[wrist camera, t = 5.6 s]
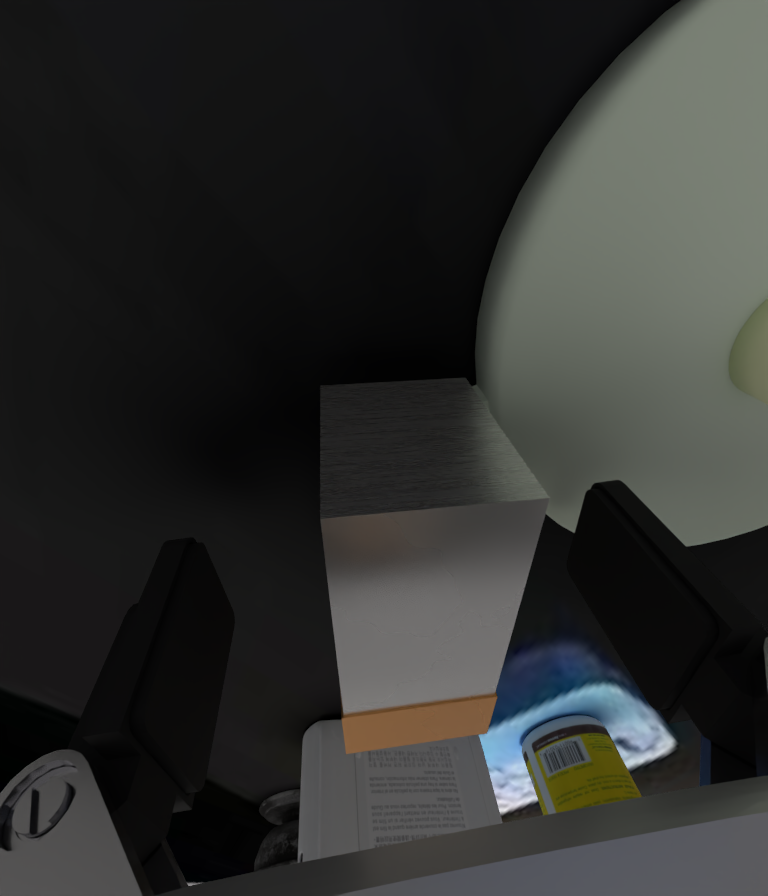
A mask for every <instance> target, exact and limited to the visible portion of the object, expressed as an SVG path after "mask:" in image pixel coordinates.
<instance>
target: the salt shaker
mask: <svg viewBox="0 0 768 896" xmlns="http://www.w3.org/2000/svg"><path fill="white" fill-rule="evenodd" d="M300 792H301V789H294V790H289V791H285V792H281V793H278V794H276V795H273V796H271V797H269V798H267V799H266V800H264V801H263V802H262V803H261V805H260V808H259V811H260V814H261V815H262V816H263V817H264V818H266V819H267V820H268V821H269V822H270V823H273V824H277V825H279V826H277V827H275V828H273V829H272V830H271V831H270V832H269V834H268V835H267V836H266V838H265V839H264V840H263V842H262V844H261V846H260V849H259V852H258V854H257V857H256V860H255V865H254V872H257V871H261V870H266V869H271V868H275V867H280V866H285V865H290V864H295V863H298V839H299V814H300Z"/></svg>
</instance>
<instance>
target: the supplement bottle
mask: <svg viewBox="0 0 768 896" xmlns="http://www.w3.org/2000/svg"><path fill="white" fill-rule="evenodd" d="M522 754H523V757H524V760H525V763H526V766H527V769H528V772H529V775H530V778H531V780H532V783H533V786H534V789H535V792H536V795H537V797H538V800H539V803H540V806H541V809H542V812H543V815H548V814H553V813H559V812H564V811H569V810H574V809H580V808H585V807H591V806H596V805H601V804H607V803H612V802H617V801H623V800H628V799H634V798H639V797H642V796H641V794H640V792H639V791H638V789H637V787H636V785H635V783H634V781H633V779H632V777H631V775H630V773H629V771H628V769H627V768H626V766H625V764H624V762H623V760H622V758H621V756H620V754H619V752H618V750H617V748H616V746H615V744H614V742H613V741H612V739H611V737H610V735H609V733H608V732H607V730H606V728H605V726H604V725H603V724H602V723H601V722H600V721H598V720H597V719H595V718H593V717H589V716H583V715H574V716H567V717H562V718H558V719H555V720H552V721H549V722H547V723H545V724H542V725H541V726H539V727H537V728H536V729H534V730H533V731H532V732H531V733H529V734H528V736H527V737H526V738H525V740H524V742H523V744H522Z"/></svg>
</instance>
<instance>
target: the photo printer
mask: <svg viewBox="0 0 768 896" xmlns="http://www.w3.org/2000/svg"><path fill="white" fill-rule="evenodd" d="M501 823H502V820H501V816H500V812H499V809H498V805H497V801H496V798H495V794H494V790H493V786H492V782H491V779H490V775H489V771H488V767H487V764H486V760H485V756H484V752H483V749H482V745H481V742H480V738H479V736H478V735H472V736H465V737H458V738H451V739H445V740H438V741H431V742H425V743H418V744H411V745H404V746H398V747H391V748H384V749H377V750H371V751H364V752H357V753H350V754H346V750H345V742H344V734H343V726H342V720H327V721H326V720H321V721H318V722H316V723H315V724H313V725H312V726H311V727H309V728H308V730H307V731H306V732H305V734H304V737H303V745H302V769H301V792H300V814H299V839H298V863H300V862H306V861H311V860H316V859H321V858H326V857H331V856H336V855H341V854H346V853H351V852H356V851H361V850H367V849H372V848H377V847H382V846H387V845H392V844H397V843H402V842H407V841H412V840H418V839H423V838H428V837H433V836H438V835H444V834H449V833H454V832H459V831H464V830H470V829H475V828H480V827H485V826H490V825H496V824H501Z"/></svg>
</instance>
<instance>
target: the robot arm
mask: <svg viewBox="0 0 768 896" xmlns="http://www.w3.org/2000/svg"><path fill="white" fill-rule="evenodd" d="M567 568H568V572H569V574H570V576H571V578H572V580H573V581H574V583H575V585H576V586H577V588H578V589H579V591H580V593H581V594H582V596H583V598H584V599H585V601H586V602H587V604H588V606H589V607H590V609H591V611H592V612H593V614H594V615H595V617H596V619H597V620H598V622H599V624H600V625H601V627H602V628H603V630H604V632H605V633H606V635H607V637H608V638H609V640H610V641H611V643H612V645H613V646H614V648H615V649H616V651H617V653H618V654H619V656H620V658H621V659H622V661H623V662H624V664H625V666H626V667H627V669H628V671H629V672H630V674H631V675H632V677H633V679H634V680H635V682H636V684H637V685H638V687H639V688H640V690H641V692H642V693H643V695H644V697H645V698H646V700H647V701H648V703H649V704H650V705H651V706H652V707H653V708H654V709H656V710H660V712H661V713H662V715H663V716H664V718H665V720H666V721H667V723H668V724H669V723H675V722H680V721H686V720H692V721H693V722H694V723H695V725H696V726H697V728H698V729H699V731H700V732H701V760H700V787H693V788H687V789H682V790H676V791H671V792H666V793H660V794H655V795H650V796H644V797H639V798H634V799H628V800H623V801H617V802H612V803H607V804H601V805H596V806H591V807H585V808H580V809H574V810H569V811H564V812H559V813H553V814H548V815H543V816H538V817H532V818H527V819H522V820H517V821H511V822H506V823H501V824H496V825H490V826H485V827H480V828H475V829H470V830H464V831H459V832H454V833H449V834H444V835H438V836H433V837H428V838H423V839H418V840H412V841H407V842H402V843H397V844H392V845H387V846H382V847H377V848H372V849H367V850H361V851H356V852H351V853H346V854H341V855H336V856H331V857H326V858H321V859H316V860H311V861H306V862H300V863H295V864H290V865H285V866H280V867H275V868H271V869H266V870H261V871H257V872H252V873H248V874H243V875H238V876H234V877H229V878H225V879H220V880H215V881H211V882H206V883H202V884H197V885H192V886H188V885H187V883H186V881H185V879H184V877H183V875H182V872H181V870H180V868H179V866H178V864H177V862H176V860H175V858H174V856H173V854H172V852H171V850H170V847H169V845H168V843H167V841H166V839H165V837H166V836H167V834H168V830H169V826H170V821H171V817H172V813H174V812H179V811H185V810H190V809H192V805H193V800H194V795H195V792H198V791H200V790H201V789H202V788H203V786H204V783H205V779H206V774H207V769H208V764H209V758H210V753H211V748H212V742H213V737H214V732H215V726H216V721H217V716H218V710H219V705H220V700H221V694H222V689H223V684H224V678H225V673H226V668H227V662H228V657H229V652H230V646H231V641H232V636H233V630H234V623H235V619H234V612H233V609H232V607H231V605H230V602H229V600H228V598H227V596H226V593H225V591H224V589H223V586H222V584H221V582H220V579H219V577H218V575H217V573H216V570H215V568H214V566H213V563H212V561H211V559H210V557H209V554H208V552H207V550H206V547H205V545H204V544H203V543H197V542H196V540H195V539H194V538H184V539H176V540H169V541H166V542H165V543H164V544H163V546H162V548H161V550H160V553H159V555H158V557H157V560H156V562H155V565H154V567H153V569H152V572H151V574H150V577H149V579H148V581H147V584H146V586H145V588H144V591H143V593H142V596H141V598H140V600H139V603H137V604H134V605H133V606H132V607H131V608H130V609H129V610H128V612H127V614H126V615H125V618H124V620H123V622H122V624H121V627H120V629H119V631H118V634H117V636H116V638H115V640H114V643H113V645H112V647H111V650H110V652H109V654H108V656H107V659H106V661H105V663H104V666H103V668H102V670H101V672H100V675H99V677H98V679H97V682H96V684H95V686H94V689H93V691H92V693H91V695H90V698H89V700H88V702H87V705H86V707H85V709H84V711H83V714H82V716H81V718H80V721H79V723H78V725H77V727H76V730H75V732H74V734H73V737H72V739H71V741H70V743H69V746H68V748H67V750H58V751H55V752H52V753H50V754H47V755H45V756H42V757H41V758H39V759H38V760H36V761H34V762H33V763H31V764H30V765H28V766H27V767H26V768H24V769H23V770H22V771H21V772H20V773H19V774H18V775H17V776H15V777H14V778H13V779H12V780H11V781H10V782H9V784H8V785H7V786H6V787H5V789H4V790H3V791H2V792H1V793H0V896H768V634H767V633H766V632H765V631H764V630H763V629H762V628H761V626H762V624H761V623H760V622H759V621H758V620H757V619H756V618H755V617H754V616H753V615H752V614H751V613H750V612H749V611H748V610H747V609H746V608H745V607H744V606H743V605H742V604H741V603H740V602H739V601H738V600H737V599H736V598H735V596H734V595H733V594H732V593H731V592H730V591H729V590H728V589H727V588H726V587H725V586H724V585H723V584H722V583H721V582H720V581H719V580H718V579H717V578H716V577H715V576H714V575H713V574H712V573H711V572H710V571H709V570H708V569H707V568H706V567H705V566H704V565H703V564H702V563H701V562H700V560H699V559H698V558H697V557H696V556H695V555H694V554H693V553H692V552H691V551H690V550H689V549H688V548H687V547H686V546H685V545H684V544H683V543H682V542H681V541H680V540H679V539H678V538H677V537H676V536H675V535H674V534H673V533H672V532H671V531H670V530H669V529H668V528H667V527H666V526H665V524H664V523H663V522H662V521H661V520H660V519H659V518H658V517H657V516H656V515H655V514H654V513H653V512H652V511H651V510H650V509H649V508H648V507H647V506H646V505H645V504H644V503H643V502H642V501H641V500H640V499H639V498H638V497H637V496H636V495H635V494H634V493H633V492H632V491H631V490H630V489H629V487H628V486H627V485H626V484H625V483H623V482H622V481H620V480H612V481H605V482H597V483H594V484H593V485H592V487H591V489H590V490H587V491H586V493H585V496H584V500H583V504H582V508H581V511H580V515H579V519H578V523H577V526H576V530H575V534H574V537H573V541H572V545H571V549H570V552H569V556H568V560H567Z"/></svg>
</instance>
